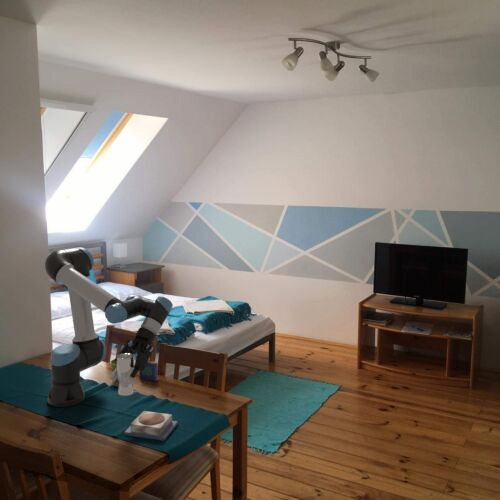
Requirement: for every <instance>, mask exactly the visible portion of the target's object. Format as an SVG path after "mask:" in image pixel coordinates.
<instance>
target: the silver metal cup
mask: <svg viewBox="0 0 500 500" xmlns="http://www.w3.org/2000/svg"><path fill="white" fill-rule="evenodd" d="M118 354H119V353H118ZM118 354H117V355H116V357H117V359H116V372H117V377H118V381H117V382H118V388H117V389H118V390H117V395H118V396H121V397H129V396H130V395H133V394H134V386H133V383H134V382H133V381H134V378H133V379H132V381H131V382H130V384H129V386H126V385H125V384H124V383H123V382H124V380H125V378H126V377H127V375H128V373H129V372H130V370H131V368H134V367H133V366H134V365H135V357H134V355H135V354H130V353H123V354H119V355H118Z"/></svg>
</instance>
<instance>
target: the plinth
mask: <svg viewBox="0 0 500 500" xmlns="http://www.w3.org/2000/svg"><path fill="white" fill-rule="evenodd" d="M172 421H173V414H170V413H161V412H155V411H147V410H143V411H142V412H141V413H140V414H139V415H138V416H137V417H136V418H135V419H134V420H133V421H132V422H131V423H130V426H131V432H137V433H145V434H152V435H159V436H160V435H161V434H162V433H163V432H164V431H165V430H166V428H167V427H168V426H169V425H170V424H171V422H172Z"/></svg>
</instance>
